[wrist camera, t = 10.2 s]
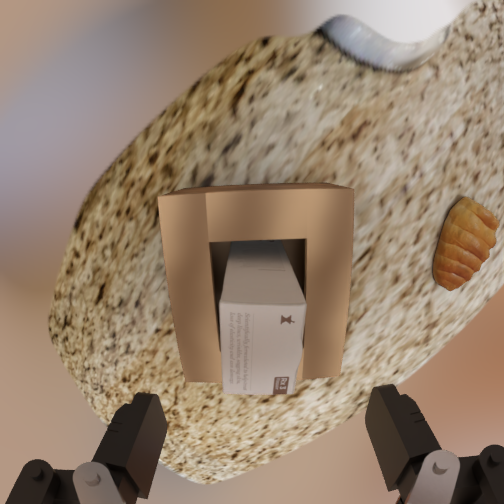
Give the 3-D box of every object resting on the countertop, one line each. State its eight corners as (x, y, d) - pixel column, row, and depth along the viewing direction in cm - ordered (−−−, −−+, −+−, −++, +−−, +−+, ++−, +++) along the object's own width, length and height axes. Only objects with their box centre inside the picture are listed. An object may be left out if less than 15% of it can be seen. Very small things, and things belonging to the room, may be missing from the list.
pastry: (454, 293, 27) (473, 307, 24) (415, 271, 27) (434, 284, 23) (489, 218, 25) (511, 225, 21) (453, 188, 24) (476, 192, 21)
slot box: (326, 182, 24) (354, 189, 17) (322, 330, 28) (339, 375, 21) (184, 188, 24) (157, 196, 17) (199, 335, 28) (185, 381, 21)
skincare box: (230, 236, 25) (210, 296, 13) (284, 237, 25) (309, 299, 13) (229, 303, 27) (214, 395, 15) (279, 304, 27) (296, 397, 15)
